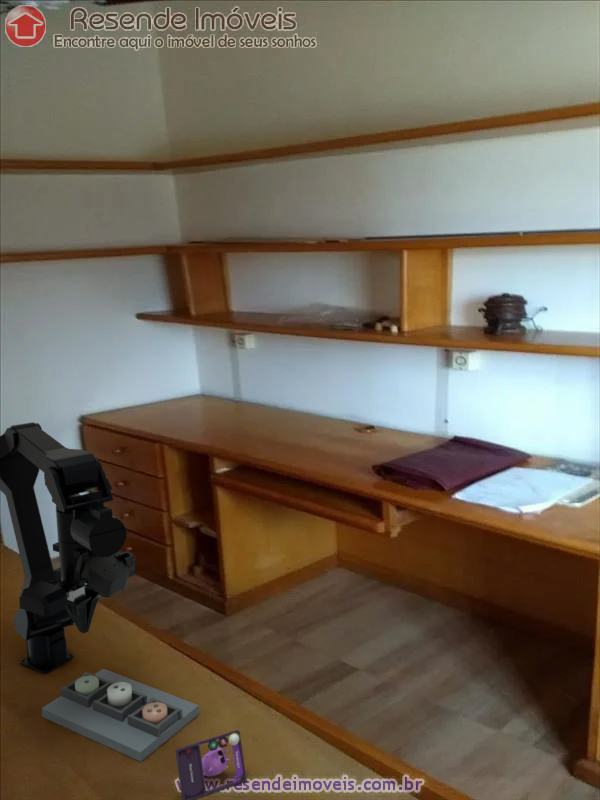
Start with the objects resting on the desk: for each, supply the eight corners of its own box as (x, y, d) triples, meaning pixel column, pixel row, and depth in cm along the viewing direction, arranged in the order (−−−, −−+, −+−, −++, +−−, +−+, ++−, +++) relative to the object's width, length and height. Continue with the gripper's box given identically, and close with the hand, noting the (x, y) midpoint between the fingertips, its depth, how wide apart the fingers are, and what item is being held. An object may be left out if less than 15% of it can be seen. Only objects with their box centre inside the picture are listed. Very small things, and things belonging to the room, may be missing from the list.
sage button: (70, 694, 124) (69, 683, 123) (87, 683, 127) (87, 672, 126) (87, 701, 122) (86, 690, 121) (104, 690, 125) (103, 679, 124)
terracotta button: (137, 722, 116) (137, 711, 116) (154, 710, 119) (153, 699, 119) (156, 730, 115) (155, 719, 114) (172, 717, 118) (172, 706, 117)
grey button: (102, 701, 120) (102, 690, 119) (119, 689, 123) (119, 679, 122) (120, 708, 118) (119, 697, 118) (137, 696, 121) (136, 685, 121)
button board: (42, 717, 121) (40, 700, 120) (104, 676, 131) (103, 661, 131) (140, 761, 110) (139, 743, 110) (199, 714, 121) (198, 697, 121)
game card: (177, 751, 102) (241, 731, 106) (165, 742, 107) (227, 723, 111) (185, 804, 102) (248, 782, 106) (173, 793, 106) (234, 772, 110)
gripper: (68, 569, 107) (75, 674, 110) (160, 527, 122) (164, 619, 125) (12, 553, 112) (21, 653, 116) (107, 514, 128) (112, 603, 131)
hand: (84, 632), depth 122 cm, fingers closed
